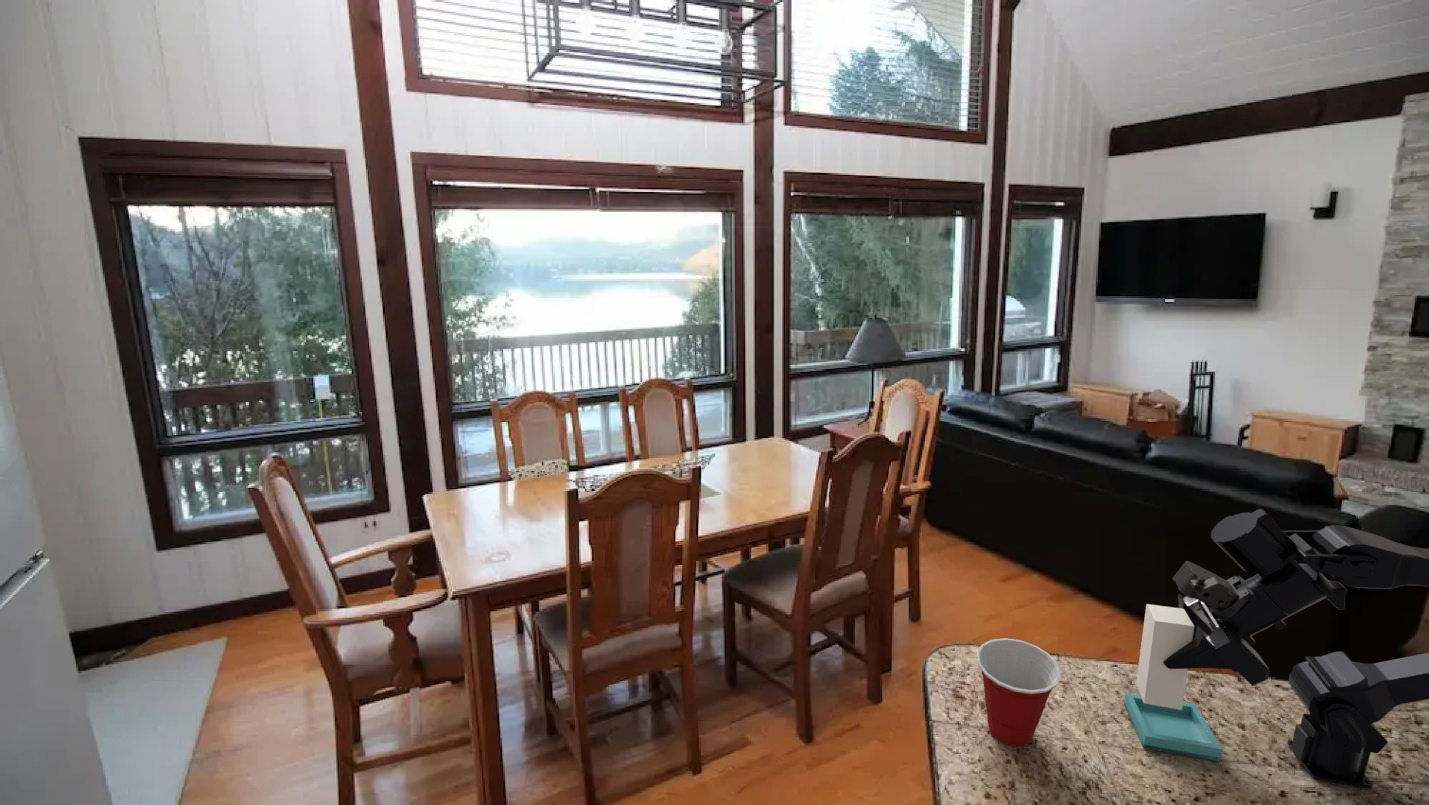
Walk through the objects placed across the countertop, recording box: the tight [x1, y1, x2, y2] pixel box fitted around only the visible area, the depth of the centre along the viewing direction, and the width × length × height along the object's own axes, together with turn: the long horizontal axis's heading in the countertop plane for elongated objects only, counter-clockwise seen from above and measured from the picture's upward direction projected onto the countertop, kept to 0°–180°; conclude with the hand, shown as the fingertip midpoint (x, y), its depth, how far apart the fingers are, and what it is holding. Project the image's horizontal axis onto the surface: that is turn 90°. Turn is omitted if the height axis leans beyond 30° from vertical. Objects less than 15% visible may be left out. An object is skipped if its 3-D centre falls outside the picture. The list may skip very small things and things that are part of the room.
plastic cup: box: [976, 637, 1062, 748], centre depth 92 cm, size 11×11×12 cm
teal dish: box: [1123, 692, 1223, 763], centre depth 93 cm, size 9×9×2 cm
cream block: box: [1135, 603, 1194, 710], centre depth 91 cm, size 4×4×13 cm
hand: (1160, 655), depth 91 cm, fingers closed on cream block, 4 cm apart
